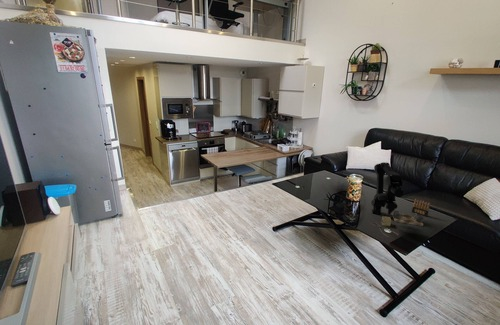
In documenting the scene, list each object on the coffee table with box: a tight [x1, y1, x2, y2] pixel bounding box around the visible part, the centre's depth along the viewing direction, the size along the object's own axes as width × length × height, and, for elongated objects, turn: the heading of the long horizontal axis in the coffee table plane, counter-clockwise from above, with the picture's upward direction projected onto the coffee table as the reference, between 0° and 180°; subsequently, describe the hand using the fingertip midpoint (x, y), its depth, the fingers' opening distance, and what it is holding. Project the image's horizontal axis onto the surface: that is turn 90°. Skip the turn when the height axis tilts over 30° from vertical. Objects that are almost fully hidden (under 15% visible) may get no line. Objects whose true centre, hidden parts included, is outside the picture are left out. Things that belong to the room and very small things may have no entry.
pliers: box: [369, 221, 399, 238], centre depth 169 cm, size 10×1×20 cm
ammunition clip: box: [411, 198, 430, 218], centre depth 191 cm, size 11×2×12 cm, turn 42°
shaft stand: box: [391, 210, 424, 227], centre depth 182 cm, size 18×10×6 cm, turn 70°
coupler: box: [381, 215, 392, 227], centre depth 176 cm, size 5×6×5 cm
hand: (387, 211), depth 174 cm, fingers open, 9 cm apart
